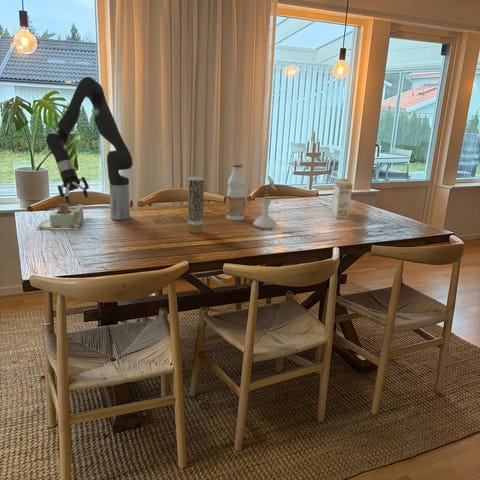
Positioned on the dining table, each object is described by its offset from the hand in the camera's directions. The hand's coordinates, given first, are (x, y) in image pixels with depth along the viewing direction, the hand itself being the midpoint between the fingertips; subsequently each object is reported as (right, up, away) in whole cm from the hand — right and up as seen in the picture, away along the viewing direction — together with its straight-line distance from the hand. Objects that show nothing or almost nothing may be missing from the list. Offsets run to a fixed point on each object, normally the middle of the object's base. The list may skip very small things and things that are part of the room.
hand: (78, 200), depth 230 cm
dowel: (0, -12, -18) cm, 21 cm away
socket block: (0, -12, -18) cm, 21 cm away
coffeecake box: (+137, -6, +24) cm, 139 cm away
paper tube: (+61, -16, -18) cm, 65 cm away
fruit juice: (+79, -9, +8) cm, 80 cm away
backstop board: (-2, -13, -18) cm, 22 cm away
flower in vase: (+94, -13, -5) cm, 95 cm away
